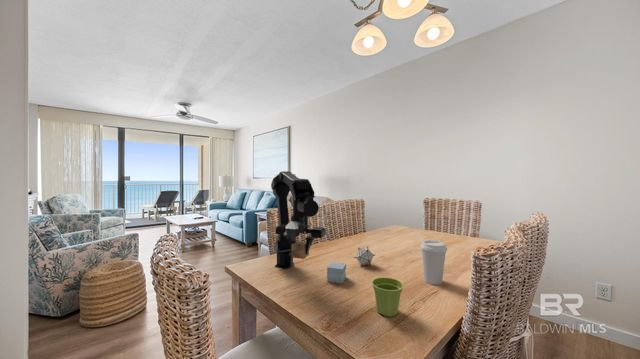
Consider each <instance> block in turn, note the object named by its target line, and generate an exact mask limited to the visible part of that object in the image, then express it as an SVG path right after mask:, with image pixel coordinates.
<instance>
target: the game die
mask: <svg viewBox="0 0 640 359" xmlns="http://www.w3.org/2000/svg"><path fill="white" fill-rule="evenodd" d="M357 249H358V250H357V252H356V256H354V257H353V258H354V259H356V260H357V261H358V262H359V264H360V267H362V266H364V265H370V266H372V260H373V258H374V256H376V254H374V253H373V252H372V251H371V250H370V249H369V246H366V247H363V248H360V247H357Z"/></svg>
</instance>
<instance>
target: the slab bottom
mask: <svg viewBox="0 0 640 359" xmlns="http://www.w3.org/2000/svg"><path fill="white" fill-rule="evenodd" d="M346 277H347V274H346V273H345V275H344V277H343V279H335V278H328V277H327V276H326V281H327V282H328V281H329V282H331V283H335V282H336V284H337V283H338V284H343V283H344V281H345V280H346Z"/></svg>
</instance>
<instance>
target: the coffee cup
mask: <svg viewBox="0 0 640 359" xmlns="http://www.w3.org/2000/svg"><path fill="white" fill-rule="evenodd" d="M419 248H421V258H422V259H421V260H422V270H423V280H424V282H425V283H427V284H429V285H433V286H434V285H435V286H437V285H442V284H443V278H444V270H445V261H446V254H447V252H448V247H447V246H446V244H445V242H442V241H439V240H431V239H428V240H427V239H425V240H422V243H421V244H420V247H419Z"/></svg>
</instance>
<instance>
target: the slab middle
mask: <svg viewBox="0 0 640 359" xmlns="http://www.w3.org/2000/svg"><path fill="white" fill-rule="evenodd" d="M346 273H347V272H346V270H345V271H344V273H343V274H335V273H328V272H327V271H326V278H327V277H328V278H335V279H343V277H344V275H345V274H346Z"/></svg>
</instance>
